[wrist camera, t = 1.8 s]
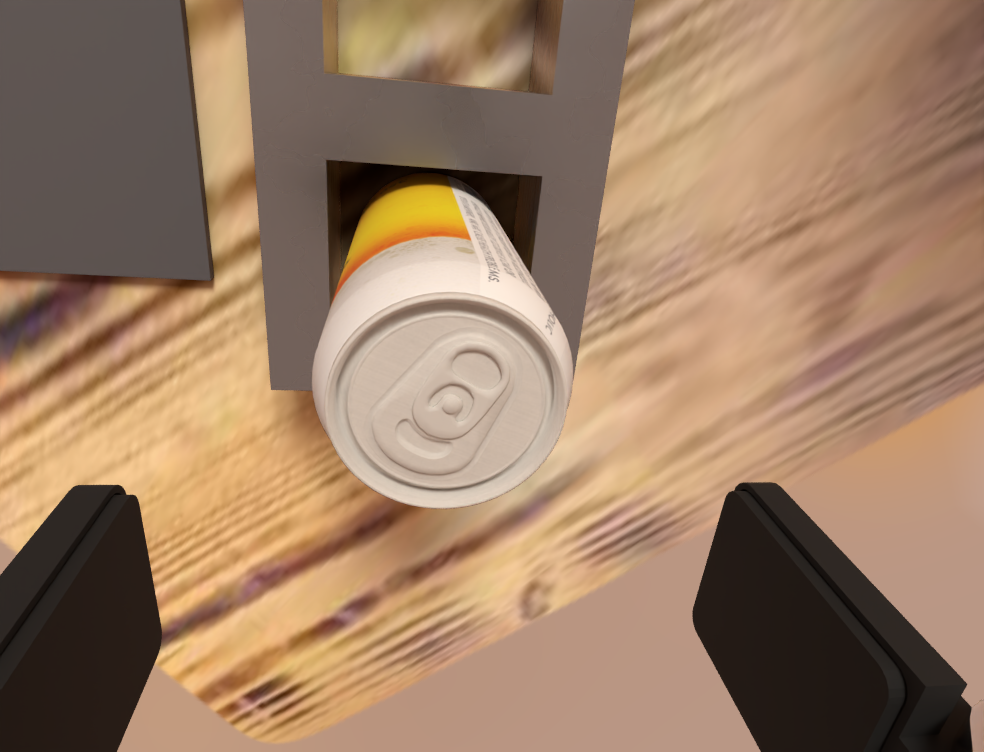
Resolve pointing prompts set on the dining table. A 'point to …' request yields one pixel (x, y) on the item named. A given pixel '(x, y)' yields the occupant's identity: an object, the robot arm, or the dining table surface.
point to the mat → (100, 141)
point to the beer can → (439, 352)
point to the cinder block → (425, 153)
